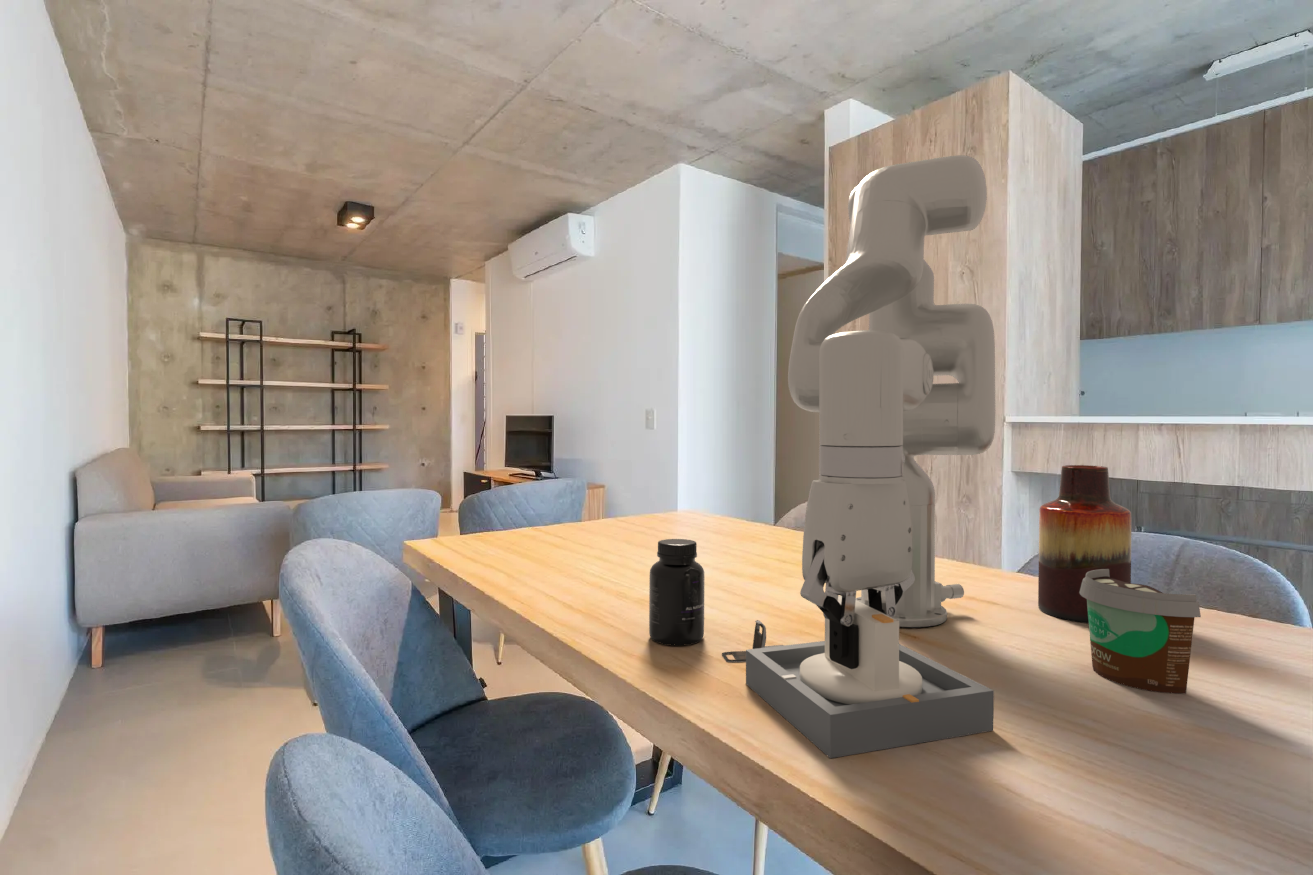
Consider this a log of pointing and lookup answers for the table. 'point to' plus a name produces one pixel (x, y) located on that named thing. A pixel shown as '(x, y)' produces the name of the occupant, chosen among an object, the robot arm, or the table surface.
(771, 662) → the dial plate
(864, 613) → the dial
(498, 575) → the table surface
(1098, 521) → the vase
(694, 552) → the supplement bottle
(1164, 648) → the food container
